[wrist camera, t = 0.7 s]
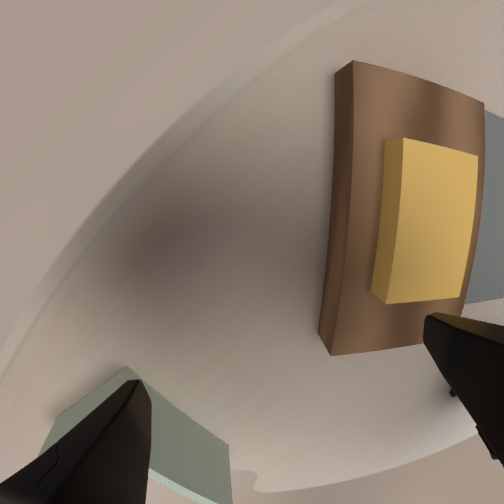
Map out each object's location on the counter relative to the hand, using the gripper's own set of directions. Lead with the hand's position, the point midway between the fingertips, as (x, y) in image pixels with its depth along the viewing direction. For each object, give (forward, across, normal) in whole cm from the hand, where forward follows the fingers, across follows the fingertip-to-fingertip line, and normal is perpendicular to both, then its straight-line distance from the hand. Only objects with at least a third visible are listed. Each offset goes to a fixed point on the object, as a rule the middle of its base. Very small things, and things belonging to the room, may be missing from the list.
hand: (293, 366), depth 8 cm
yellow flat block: (+9, -10, -1) cm, 14 cm away
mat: (+12, -21, 0) cm, 24 cm away
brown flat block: (+12, -11, -1) cm, 16 cm away
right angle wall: (+12, +13, +15) cm, 23 cm away
